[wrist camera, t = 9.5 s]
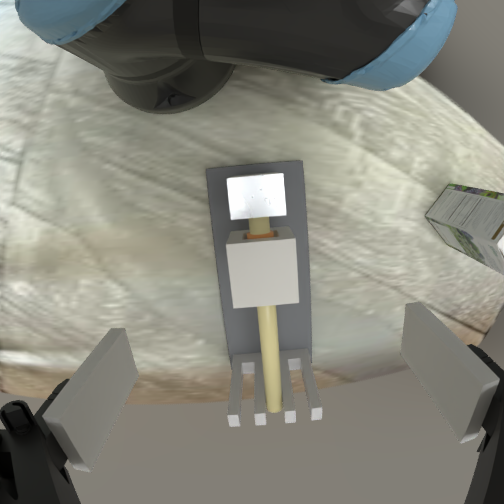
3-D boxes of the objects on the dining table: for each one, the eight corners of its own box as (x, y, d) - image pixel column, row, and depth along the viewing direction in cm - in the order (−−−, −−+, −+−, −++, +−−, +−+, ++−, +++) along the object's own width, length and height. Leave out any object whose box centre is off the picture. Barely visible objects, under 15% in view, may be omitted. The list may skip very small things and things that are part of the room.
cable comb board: (207, 169, 34) (182, 169, 22) (300, 160, 34) (324, 156, 22) (232, 363, 40) (224, 431, 28) (310, 356, 40) (327, 422, 28)
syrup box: (472, 214, 35) (548, 238, 21) (446, 247, 36) (519, 285, 22) (449, 182, 34) (528, 195, 20) (422, 217, 35) (496, 245, 21)
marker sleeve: (231, 231, 28) (225, 244, 23) (288, 226, 28) (295, 238, 23) (237, 285, 29) (233, 308, 25) (292, 280, 29) (299, 302, 24)
